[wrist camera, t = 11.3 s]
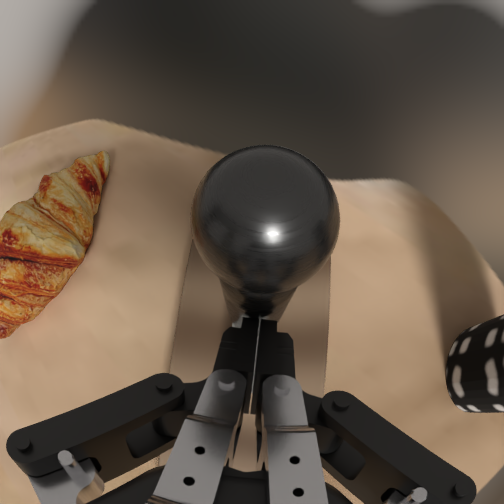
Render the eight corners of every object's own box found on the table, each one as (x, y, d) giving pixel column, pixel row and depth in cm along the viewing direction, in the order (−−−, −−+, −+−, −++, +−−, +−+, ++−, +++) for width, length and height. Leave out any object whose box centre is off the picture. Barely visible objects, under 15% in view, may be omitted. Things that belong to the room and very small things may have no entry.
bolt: (277, 394, 17) (358, 430, 4) (213, 386, 17) (128, 405, 4) (291, 222, 22) (335, 44, 9) (237, 216, 22) (230, 33, 9)
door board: (297, 511, 16) (317, 557, 9) (166, 496, 16) (135, 536, 10) (322, 206, 27) (343, 150, 20) (210, 194, 27) (201, 136, 20)
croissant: (103, 177, 32) (60, 132, 26) (153, 168, 27) (101, 107, 21) (14, 336, 24) (-44, 301, 18) (41, 376, 18) (-41, 335, 12)
